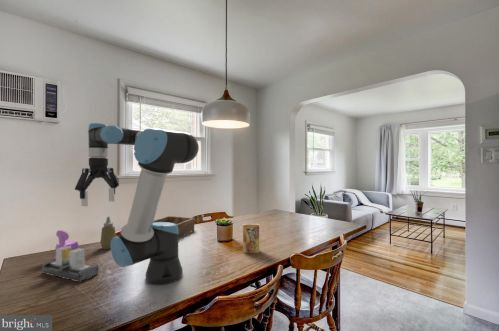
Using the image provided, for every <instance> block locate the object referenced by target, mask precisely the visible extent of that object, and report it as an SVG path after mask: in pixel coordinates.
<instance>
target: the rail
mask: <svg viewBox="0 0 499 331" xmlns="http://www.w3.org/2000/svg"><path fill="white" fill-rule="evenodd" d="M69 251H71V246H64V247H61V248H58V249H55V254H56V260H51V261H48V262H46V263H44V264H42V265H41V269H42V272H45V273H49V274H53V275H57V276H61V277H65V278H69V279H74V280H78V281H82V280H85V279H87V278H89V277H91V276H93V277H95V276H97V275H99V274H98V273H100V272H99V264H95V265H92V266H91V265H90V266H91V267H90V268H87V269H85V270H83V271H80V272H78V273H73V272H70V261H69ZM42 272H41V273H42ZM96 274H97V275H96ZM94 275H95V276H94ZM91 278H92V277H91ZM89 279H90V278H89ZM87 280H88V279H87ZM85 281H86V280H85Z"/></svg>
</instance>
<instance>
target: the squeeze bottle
mask: <svg viewBox="0 0 499 331" xmlns="http://www.w3.org/2000/svg"><path fill="white" fill-rule="evenodd" d="M105 220H106V221H105V223H103V227H101V233H100V234H101V235H100V246H101V248H102V250H111V246H110V244H111V240H112V238H113V237H115V236H117V235H116V233H117V232H116V227H115V226H114V223H113V222H112V221H111V217H110V216H107V217H106V219H105Z"/></svg>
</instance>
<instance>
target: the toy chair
mask: <svg viewBox="0 0 499 331" xmlns="http://www.w3.org/2000/svg"><path fill="white" fill-rule="evenodd" d="M55 235H56V237H57V239H58V243H57V244H56V245H55V250H56V249H58V248H61V247H64V246H69V247H71V251H72V250H75V249H78V248H79V243H78V241H72V240H69V236H70V235H69V233H68V232H67V231H65V230H61V229H59V230H57V231H56V234H55ZM54 254H55V255H54V257H53V259H56V253H54Z"/></svg>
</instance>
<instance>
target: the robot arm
mask: <svg viewBox="0 0 499 331" xmlns="http://www.w3.org/2000/svg"><path fill="white" fill-rule="evenodd" d="M87 133H88V157H89V158H88V166H89V168H88V167H86V168H84V167H83V168H82V170H81V174H80V176H79V179H78V181H77V183H76V185H75V187H74V190H75V191H78V192H79V199H80V200H81V202H80V203H81V205H80V206H81V207H88V205H89V204H88V203H89V201H88V200H89V198H88V196H89V194H88V190H87V189H88V188H89V187H90V185H91V184H92V182H93V181H94V180H95V179H99V178H100V179H103V180H104V182H106V183H107V185H108V202H115V195H116V188H118V187H119V186H120V184H119V182H118V180H117V176H116V174H115V172H114V168H113V167H108V166H109V159H108V156H109V153H108V152H109V145H126V146H128V145H129V146H133V151H134V153H133V156H134V158H135V160H136V161H137V162H138V163H137V165H138V166H139V168H140V174H139V177H138V181H137V185H136V188H135V193H134V197H133V199H132V200H133V201H132V204H131V208H130V211H129V217H128V220H127V222H126V224H125V225H123V226H122V227H121V229H120V232H119V235H116V236H115V237H113V238H112V240H111V244H110V246H111V249H110V252H111V253H110V254H111V255H112V258H113V262H115V264H116V265H118V266H119V267H120V268H126V267H129V266H133V265H135V264H137V263H140V262H143V261H146V260H149V263H148V264H147V268H146V271H145V281H146V283H148V284H149V285H156V286H157V285H158V286H160V285H162V286H163V285H167V284H171V283H173V282H176V281H178V280H179V279H181V278H182V277H183V272H184V271H183V266H182V265H181V264H182V262H181V260H180V257H179V238H178V234H179V233H178V226H177V225H176V224H174V223H169V222H155V223H153V221H154V220H155V217H156V215H157V214H156V213H157V210H158V206H159V202H160V199H161V196H162V193H163V189H164V185H165V183H166V178H167V176H168V175H169V174H171V173H172V172H173V171H174V168H175V164H186V163H190V162H191V161H193V160H194V159H195V158H196V157H197V155H198V153H199V143H198V140H197V139H196V137H195V136H193V135H192V134H190V133H189V132H184V131H177V130H168V129H164V128H163V129H162V128H159V127H158V128H157V127H156V128H151V127H150V128H146V129H144V130H143V129H133V128H125V127H119V126H117V125H110V124H109V125H107V124H105V123H100V122H99V123H98V122H95V123H93V122H92V123H89V124H88V130H87Z"/></svg>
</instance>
